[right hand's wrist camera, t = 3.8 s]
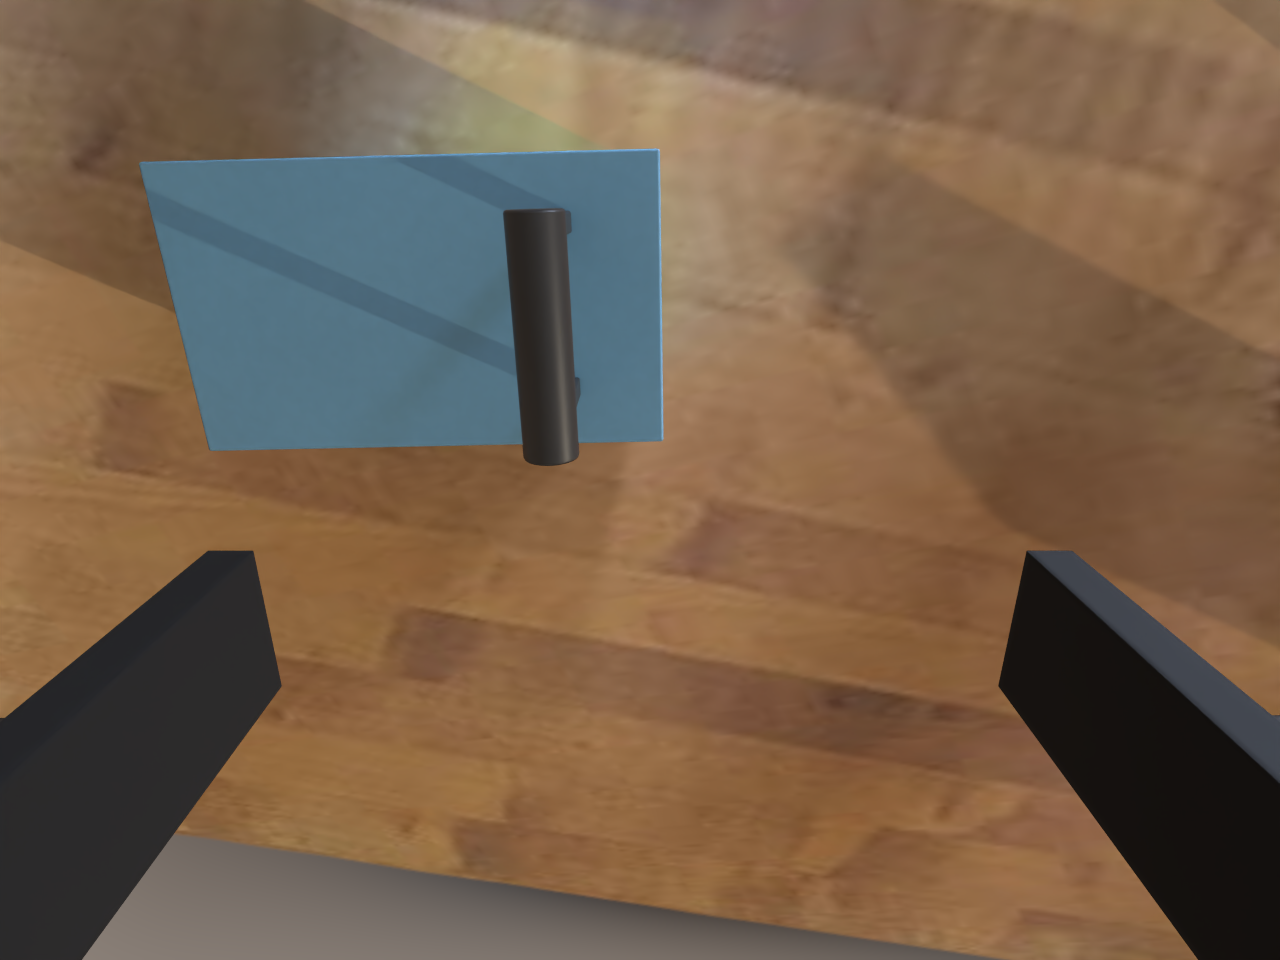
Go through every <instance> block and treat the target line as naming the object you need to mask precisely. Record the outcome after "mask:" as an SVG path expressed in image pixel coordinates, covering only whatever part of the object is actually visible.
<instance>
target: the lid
mask: <svg viewBox="0 0 1280 960" xmlns="http://www.w3.org/2000/svg"><path fill="white" fill-rule="evenodd" d="M139 166H140V170H141V174H142V178H143V182H144V186H145V190H146V194H147V199H148V203H149V207H150V211H151V215H152V219H153V223H154V227H155V231H156V235H157V239H158V243H159V247H160V251H161V255H162V259H163V263H164V268H165V272H166V276H167V280H168V284H169V288H170V292H171V296H172V300H173V304H174V308H175V312H176V316H177V320H178V324H179V328H180V332H181V337H182V341H183V345H184V349H185V353H186V357H187V361H188V365H189V369H190V373H191V377H192V381H193V385H194V389H195V393H196V397H197V401H198V405H199V410H200V414H201V418H202V422H203V426H204V430H205V434H206V438H207V442H208V446H209V449H210V450H211V451H224V450H271V449H318V448H365V447H412V446H459V445H506V444H523V456H524V459H525V461H527V462H528V463H531V464H534V465H541V466H554V465H561V464H565V463H569V462H571V461H574V460H575V459H577V457H578V455H579V443H600V442H647V441H663V372H662V292H661V212H660V151H659V149H626V150H587V151H548V152H509V153H470V154H431V155H392V156H353V157H314V158H274V159H235V160H196V161H157V162H141V163H139Z"/></svg>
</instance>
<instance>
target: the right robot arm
mask: <svg viewBox="0 0 1280 960" xmlns="http://www.w3.org/2000/svg"><path fill="white" fill-rule="evenodd" d="M281 686H282V685H281V681H280V676H279V671H278V666H277V662H276V657H275V652H274V647H273V643H272V638H271V633H270V628H269V624H268V619H267V614H266V609H265V605H264V600H263V595H262V590H261V586H260V581H259V576H258V571H257V566H256V562H255V557H254V552H253V551H207V552H206V553H205V554H204V555H202V556H201V557H200V558H199V559H197V560H196V561H195V562H194V563H193V564H191V565H190V566H189V567H188V568H187V569H185V570H184V571H183V572H182V573H180V574H179V575H178V576H177V577H176V578H174V579H173V580H172V581H171V582H170V583H168V584H167V585H166V586H165V587H163V588H162V589H161V590H160V591H159V592H157V593H156V594H155V595H154V596H153V597H151V598H150V599H149V600H148V601H146V602H145V603H144V604H143V605H142V606H140V607H139V608H138V609H137V610H136V611H134V612H133V613H132V614H131V615H129V616H128V617H127V618H126V619H125V620H123V621H122V622H121V623H120V624H119V625H117V626H116V627H115V628H114V629H112V630H111V631H110V632H109V633H108V634H106V635H105V636H104V637H103V638H102V639H100V640H99V641H98V642H97V643H95V644H94V645H93V646H92V647H91V648H89V649H88V650H87V651H86V652H84V653H83V654H82V655H81V656H80V657H78V658H77V659H76V660H75V661H74V662H72V663H71V664H70V665H69V666H67V667H66V668H65V669H64V670H63V671H61V672H60V673H59V674H58V675H57V676H55V677H54V678H53V679H52V680H50V681H49V682H48V683H47V684H46V685H44V686H43V687H42V688H41V689H40V690H38V691H37V692H36V693H35V694H33V695H32V696H31V697H30V698H29V699H27V700H26V701H25V702H24V703H23V704H21V705H20V706H19V707H18V708H16V709H15V710H14V711H13V712H12V713H10V714H9V715H8V716H7V717H6V718H0V960H82V959H83V957H84V956H85V955H86V953H87V952H88V950H89V949H90V948H91V946H92V945H93V944H94V942H95V941H96V940H97V938H98V937H99V935H100V934H101V933H102V931H103V930H104V929H105V927H106V926H107V924H108V923H109V922H110V920H111V919H112V918H113V916H114V915H115V914H116V912H117V911H118V909H119V908H120V907H121V905H122V904H123V903H124V901H125V900H126V898H127V897H128V896H129V894H130V893H131V892H132V890H133V889H134V888H135V886H136V885H137V883H138V882H139V881H140V879H141V878H142V877H143V875H144V874H145V872H146V871H147V870H148V868H149V867H150V866H151V864H152V863H153V861H154V860H155V859H156V857H157V856H158V855H159V853H160V852H161V851H162V849H163V848H164V846H165V845H166V844H167V842H168V841H169V840H170V838H171V837H172V836H173V834H174V833H175V831H176V830H177V829H178V827H179V826H180V825H181V823H182V822H183V820H184V819H185V818H186V816H187V815H188V814H189V812H190V811H191V809H192V808H193V807H194V805H195V804H196V803H197V801H198V800H199V799H200V797H201V796H202V794H203V793H204V792H205V790H206V789H207V788H208V786H209V785H210V783H211V782H212V781H213V779H214V778H215V777H216V775H217V774H218V773H219V771H220V770H221V768H222V767H223V766H224V764H225V763H226V762H227V760H228V759H229V757H230V756H231V755H232V753H233V752H234V751H235V749H236V748H237V746H238V745H239V744H240V742H241V741H242V740H243V738H244V737H245V736H246V734H247V733H248V731H249V730H250V729H251V727H252V726H253V725H254V723H255V722H256V720H257V719H258V718H259V716H260V715H261V714H262V712H263V711H264V710H265V708H266V707H267V705H268V704H269V703H270V701H271V700H272V699H273V697H274V696H275V694H276V693H277V692H278V690H279V689H280V688H281ZM998 686H999V688H1000V689H1001V690H1002V692H1003V693H1004V694H1005V696H1006V697H1007V699H1008V700H1009V701H1010V703H1011V704H1012V705H1013V707H1014V708H1015V710H1016V711H1017V712H1018V714H1019V715H1020V716H1021V718H1022V719H1023V720H1024V722H1025V723H1026V725H1027V726H1028V727H1029V729H1030V730H1031V731H1032V733H1033V734H1034V736H1035V737H1036V738H1037V740H1038V741H1039V742H1040V744H1041V745H1042V747H1043V748H1044V749H1045V751H1046V752H1047V753H1048V755H1049V756H1050V757H1051V759H1052V760H1053V762H1054V763H1055V764H1056V766H1057V767H1058V768H1059V770H1060V771H1061V773H1062V774H1063V775H1064V777H1065V778H1066V779H1067V781H1068V782H1069V783H1070V785H1071V786H1072V788H1073V789H1074V790H1075V792H1076V793H1077V794H1078V796H1079V797H1080V799H1081V800H1082V801H1083V803H1084V804H1085V805H1086V807H1087V808H1088V809H1089V811H1090V812H1091V814H1092V815H1093V816H1094V818H1095V819H1096V820H1097V822H1098V823H1099V825H1100V826H1101V827H1102V829H1103V830H1104V831H1105V833H1106V834H1107V836H1108V837H1109V838H1110V840H1111V841H1112V842H1113V844H1114V845H1115V846H1116V848H1117V849H1118V851H1119V852H1120V853H1121V855H1122V856H1123V857H1124V859H1125V860H1126V862H1127V863H1128V864H1129V866H1130V867H1131V868H1132V870H1133V871H1134V872H1135V874H1136V875H1137V877H1138V878H1139V879H1140V881H1141V882H1142V883H1143V885H1144V886H1145V888H1146V889H1147V890H1148V892H1149V893H1150V894H1151V896H1152V897H1153V898H1154V900H1155V901H1156V903H1157V904H1158V905H1159V907H1160V908H1161V909H1162V911H1163V912H1164V914H1165V915H1166V916H1167V918H1168V919H1169V920H1170V922H1171V923H1172V925H1173V926H1174V927H1175V929H1176V930H1177V931H1178V933H1179V934H1180V935H1181V937H1182V938H1183V940H1184V941H1185V942H1186V944H1187V945H1188V946H1189V948H1190V949H1191V951H1192V952H1193V953H1194V955H1195V956H1196V957H1197V959H1198V960H1280V715H1271V714H1270V713H1268V712H1267V711H1266V710H1265V709H1264V708H1262V707H1261V706H1260V705H1259V704H1257V703H1256V702H1255V701H1254V700H1253V699H1251V698H1250V697H1249V696H1248V695H1247V694H1245V693H1244V692H1243V691H1242V690H1240V689H1239V688H1238V687H1237V686H1236V685H1234V684H1233V683H1232V682H1231V681H1230V680H1228V679H1227V678H1226V677H1225V676H1223V675H1222V674H1221V673H1220V672H1219V671H1217V670H1216V669H1215V668H1214V667H1213V666H1211V665H1210V664H1209V663H1208V662H1206V661H1205V660H1204V659H1203V658H1202V657H1200V656H1199V655H1198V654H1197V653H1196V652H1194V651H1193V650H1192V649H1191V648H1189V647H1188V646H1187V645H1186V644H1185V643H1183V642H1182V641H1181V640H1180V639H1178V638H1177V637H1176V636H1175V635H1174V634H1172V633H1171V632H1170V631H1169V630H1168V629H1166V628H1165V627H1164V626H1163V625H1161V624H1160V623H1159V622H1158V621H1157V620H1155V619H1154V618H1153V617H1152V616H1151V615H1149V614H1148V613H1147V612H1146V611H1144V610H1143V609H1142V608H1141V607H1140V606H1138V605H1137V604H1136V603H1135V602H1134V601H1132V600H1131V599H1130V598H1129V597H1127V596H1126V595H1125V594H1124V593H1123V592H1121V591H1120V590H1119V589H1118V588H1117V587H1115V586H1114V585H1113V584H1112V583H1110V582H1109V581H1108V580H1107V579H1106V578H1104V577H1103V576H1102V575H1101V574H1100V573H1098V572H1097V571H1096V570H1095V569H1093V568H1092V567H1091V566H1090V565H1089V564H1087V563H1086V562H1085V561H1084V560H1082V559H1081V558H1080V557H1079V556H1078V555H1076V554H1075V553H1074V552H1073V551H1027V552H1026V557H1025V562H1024V566H1023V571H1022V576H1021V581H1020V586H1019V590H1018V595H1017V600H1016V605H1015V609H1014V614H1013V619H1012V624H1011V628H1010V633H1009V638H1008V643H1007V647H1006V652H1005V657H1004V662H1003V666H1002V671H1001V676H1000V681H999V685H998Z"/></svg>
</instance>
